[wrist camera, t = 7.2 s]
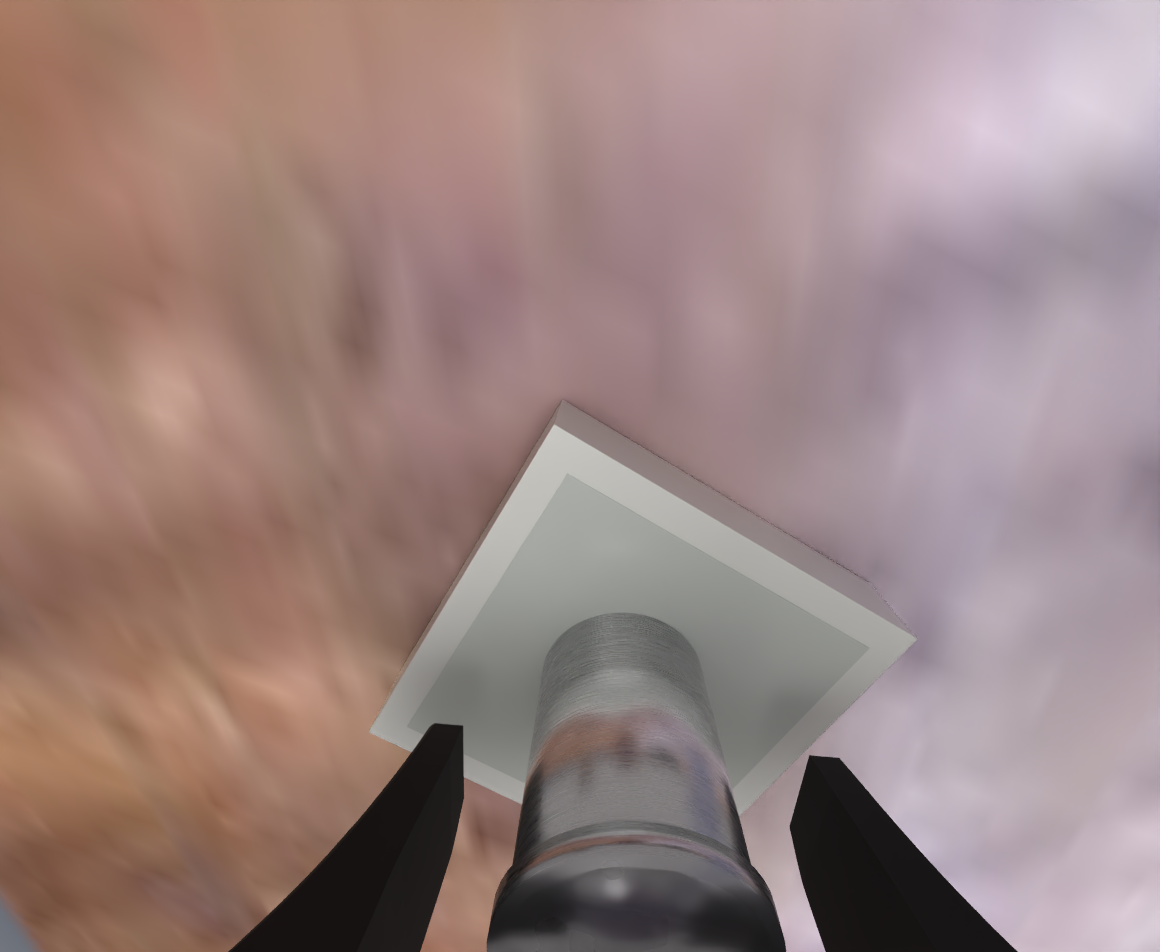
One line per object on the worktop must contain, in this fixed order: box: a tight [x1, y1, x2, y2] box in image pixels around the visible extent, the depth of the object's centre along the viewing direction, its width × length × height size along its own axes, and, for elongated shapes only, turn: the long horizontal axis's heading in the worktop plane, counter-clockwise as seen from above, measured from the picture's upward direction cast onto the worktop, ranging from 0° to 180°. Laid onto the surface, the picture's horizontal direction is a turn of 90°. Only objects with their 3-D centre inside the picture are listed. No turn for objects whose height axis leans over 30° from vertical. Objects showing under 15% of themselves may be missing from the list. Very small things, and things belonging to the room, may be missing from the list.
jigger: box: [487, 612, 786, 952], centre depth 11 cm, size 4×4×6 cm
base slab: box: [369, 400, 917, 816], centre depth 15 cm, size 10×10×3 cm
